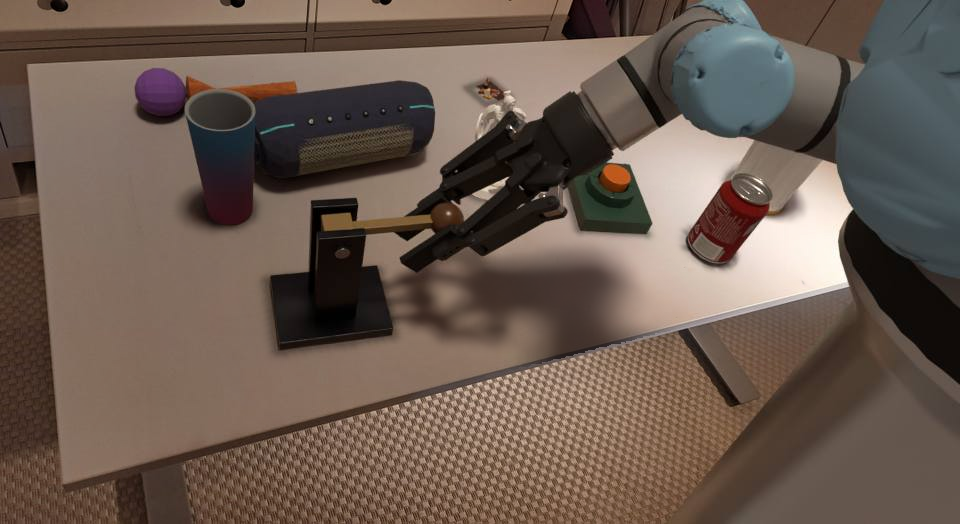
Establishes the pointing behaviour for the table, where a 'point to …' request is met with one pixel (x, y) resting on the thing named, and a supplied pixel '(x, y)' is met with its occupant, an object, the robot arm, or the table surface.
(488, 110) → the figurine
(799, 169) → the cup
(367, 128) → the portable speaker
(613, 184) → the button
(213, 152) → the cup
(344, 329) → the switch bracket
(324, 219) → the switch lever
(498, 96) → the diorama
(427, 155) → the table surface
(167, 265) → the table surface
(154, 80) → the kendama
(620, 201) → the button box
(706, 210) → the soda can
